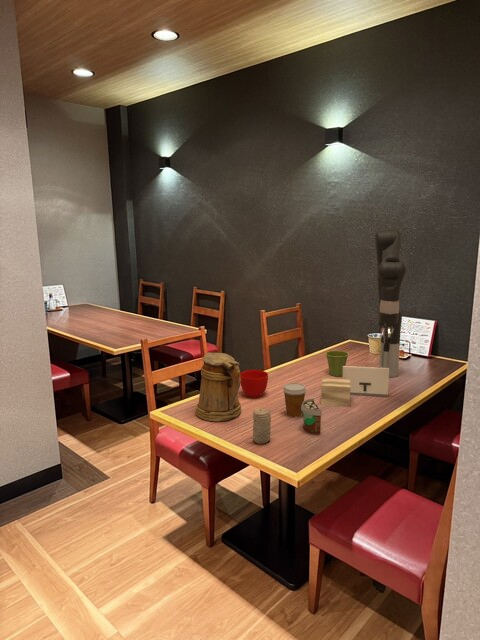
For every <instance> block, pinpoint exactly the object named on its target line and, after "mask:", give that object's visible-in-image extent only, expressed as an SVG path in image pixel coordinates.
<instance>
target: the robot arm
mask: <svg viewBox="0 0 480 640" xmlns="http://www.w3.org/2000/svg"><path fill="white" fill-rule="evenodd" d="M374 237H375V238H374V240H375V241H374V242H375V252H376V261H377V291H378V293H377V294H378V321H377V322H378V327H379V328H380V329H382V335H381V336H380V346H379V347H380V348H379V349H380V351H379V366H378V368H389V378H395V377H398V376H399V366H400V365H399V364H400V363H399V362H400V346H401V345H400V343H401V330H402V321H403V315H402V314H403V313H402V312H401V311H400V291H401V286H402V283H403V281H404V278H405V275H406V273H407V267H406V265H405V264H404V263H403V262H401V258H400V251H401V244H402V238H401V237H402V236H401V232H400V230H399V229H394V228H392V229H381V230H377V231H376V232H375V236H374Z"/></svg>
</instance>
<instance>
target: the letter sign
mask: <svg viewBox="0 0 480 640" xmlns="http://www.w3.org/2000/svg"><path fill="white" fill-rule="evenodd" d="M389 378H390V377H389V368H379V367H371V366H355V365H354V366H351V365H346V366H343V376H342V379H350V396H364V397H379V398H380V397H381V398H388V396H389Z"/></svg>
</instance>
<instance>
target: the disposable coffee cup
mask: <svg viewBox="0 0 480 640" xmlns="http://www.w3.org/2000/svg"><path fill="white" fill-rule="evenodd" d="M282 391H283V394H284V402H285V403H284V404H285V409H286V410H285V411H286V415H287V416H288V417H292V418H296V417H301V416H303V411H302V410H301V406H302V403H303V402H304V401H305V398H306V397H305V395H306V392H307V387H306V385H304V384H303V383H301V382H300V383H299V382H289V383H285V384H284V385H283V388H282Z"/></svg>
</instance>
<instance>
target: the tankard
mask: <svg viewBox="0 0 480 640" xmlns="http://www.w3.org/2000/svg"><path fill="white" fill-rule="evenodd" d="M202 362H203V364H202V366H201V369H200V375H201V382H200V390H199V397H198V403H197V405H196V408H195V409H196V410H195V415H196V416H197V417H198V418H199V419H202V420H204V421H209V422H215V423H216V422H217V423H218V422H227V421H229V420H233V419H235V418H238V416H240V414H241V412H242V406H241V402H240V401H239V394H238V393H239V390H240V387H241V383H240V382H241V375H240V373H241V369H240V366H241V364H240V362H238V361H236V360H235V358H234V357H232V355H229V354H228V353H225V352H224V353H223V352H207V353H206V354H205V355H204V356H203V357H202Z"/></svg>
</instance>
